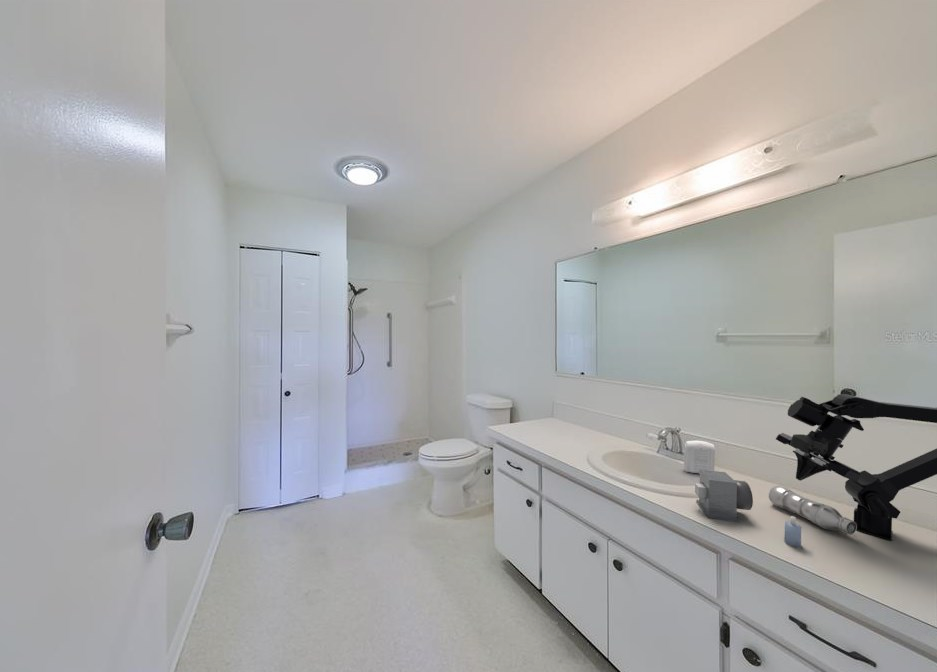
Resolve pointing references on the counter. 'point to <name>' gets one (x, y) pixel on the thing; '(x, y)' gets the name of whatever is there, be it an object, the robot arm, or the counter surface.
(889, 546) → the counter surface
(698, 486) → the knob
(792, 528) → the small blue bottle
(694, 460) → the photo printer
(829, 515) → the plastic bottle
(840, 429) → the robot arm
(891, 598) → the counter surface
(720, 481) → the mount
